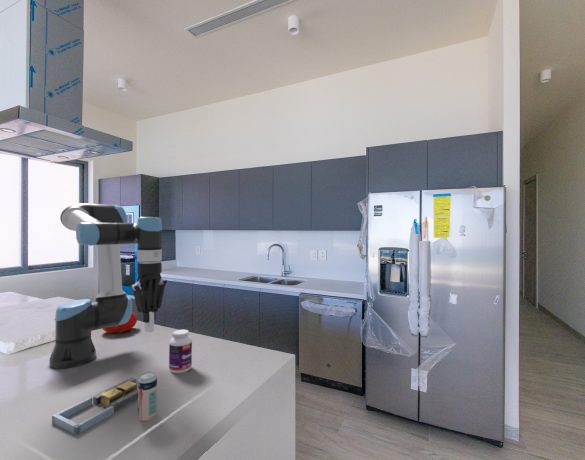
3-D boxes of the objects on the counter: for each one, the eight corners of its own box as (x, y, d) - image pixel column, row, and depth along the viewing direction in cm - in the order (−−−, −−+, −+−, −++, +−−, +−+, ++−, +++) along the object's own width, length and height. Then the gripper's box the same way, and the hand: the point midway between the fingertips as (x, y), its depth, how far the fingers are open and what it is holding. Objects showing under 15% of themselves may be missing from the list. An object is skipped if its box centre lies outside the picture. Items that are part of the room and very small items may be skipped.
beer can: (142, 412, 87) (142, 371, 87) (159, 411, 87) (159, 371, 87) (135, 423, 82) (135, 379, 82) (152, 422, 83) (153, 379, 83)
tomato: (96, 332, 153) (96, 312, 153) (130, 324, 165) (130, 306, 165) (106, 339, 144) (107, 318, 143) (141, 330, 156) (141, 311, 156)
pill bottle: (184, 376, 109) (184, 336, 109) (164, 373, 110) (164, 334, 110) (195, 366, 117) (196, 329, 116) (177, 363, 118) (177, 327, 118)
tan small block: (100, 404, 90) (101, 394, 90) (113, 397, 93) (113, 388, 93) (109, 408, 88) (109, 397, 88) (122, 401, 92) (122, 391, 92)
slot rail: (93, 404, 91) (93, 396, 91) (132, 384, 102) (132, 377, 102) (114, 413, 86) (114, 405, 86) (152, 391, 98) (152, 384, 98)
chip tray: (52, 424, 81) (52, 415, 81) (90, 405, 90) (90, 396, 90) (75, 437, 77) (76, 427, 77) (113, 415, 86) (113, 406, 86)
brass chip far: (116, 396, 94) (116, 386, 94) (128, 389, 98) (128, 380, 98) (125, 399, 93) (125, 389, 92) (136, 392, 96) (136, 383, 96)
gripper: (140, 264, 95) (139, 339, 95) (172, 260, 106) (172, 327, 106) (124, 263, 98) (124, 335, 98) (157, 259, 110) (157, 324, 110)
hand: (149, 331), depth 102 cm, fingers closed
